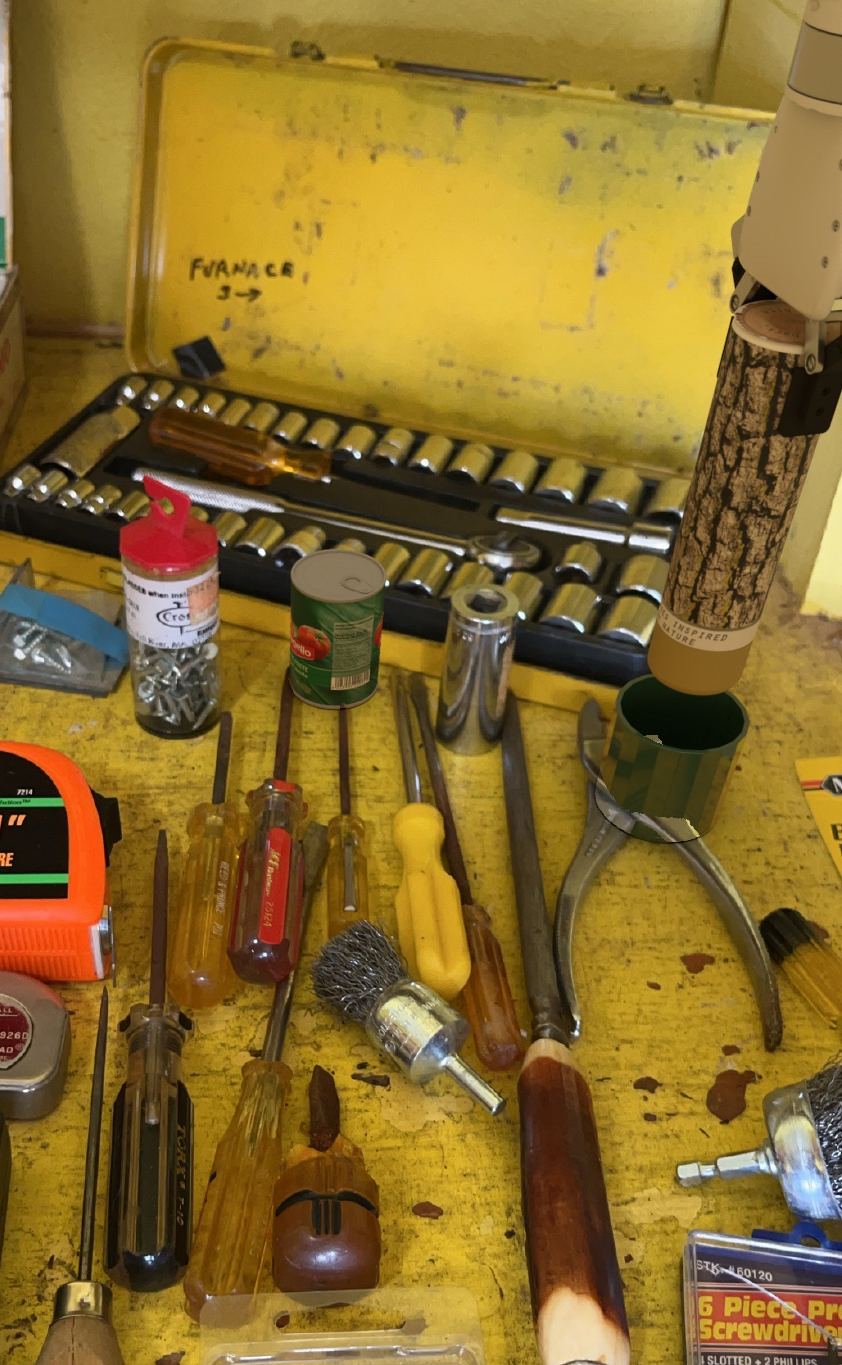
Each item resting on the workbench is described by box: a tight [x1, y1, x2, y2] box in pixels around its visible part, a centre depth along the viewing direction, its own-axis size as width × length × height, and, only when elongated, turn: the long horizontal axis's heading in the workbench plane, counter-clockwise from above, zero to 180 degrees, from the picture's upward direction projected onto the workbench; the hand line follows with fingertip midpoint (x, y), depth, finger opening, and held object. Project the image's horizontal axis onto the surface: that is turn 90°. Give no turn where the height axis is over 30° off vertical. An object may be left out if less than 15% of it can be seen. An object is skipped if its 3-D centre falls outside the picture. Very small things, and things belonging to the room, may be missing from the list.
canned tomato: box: [289, 548, 388, 710], centre depth 107 cm, size 8×8×11 cm
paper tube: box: [647, 300, 840, 695], centre depth 82 cm, size 7×7×25 cm
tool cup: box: [600, 673, 751, 844], centre depth 97 cm, size 10×10×9 cm
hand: (770, 403), depth 77 cm, fingers closed on paper tube, 6 cm apart
